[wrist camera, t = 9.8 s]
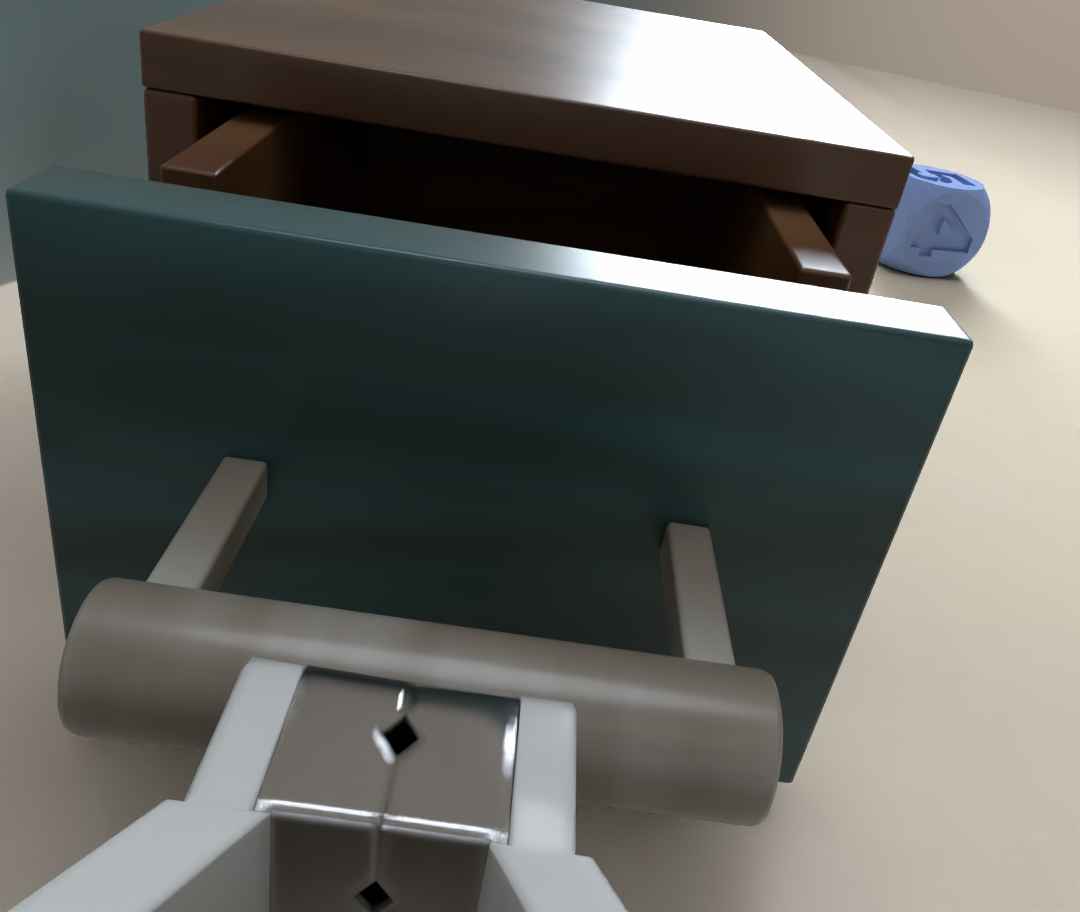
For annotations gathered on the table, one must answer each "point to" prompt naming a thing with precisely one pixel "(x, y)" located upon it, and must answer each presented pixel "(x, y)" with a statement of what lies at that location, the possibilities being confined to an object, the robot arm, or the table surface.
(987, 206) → the decorative dice
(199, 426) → the drawer
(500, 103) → the cabinet
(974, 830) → the table surface
